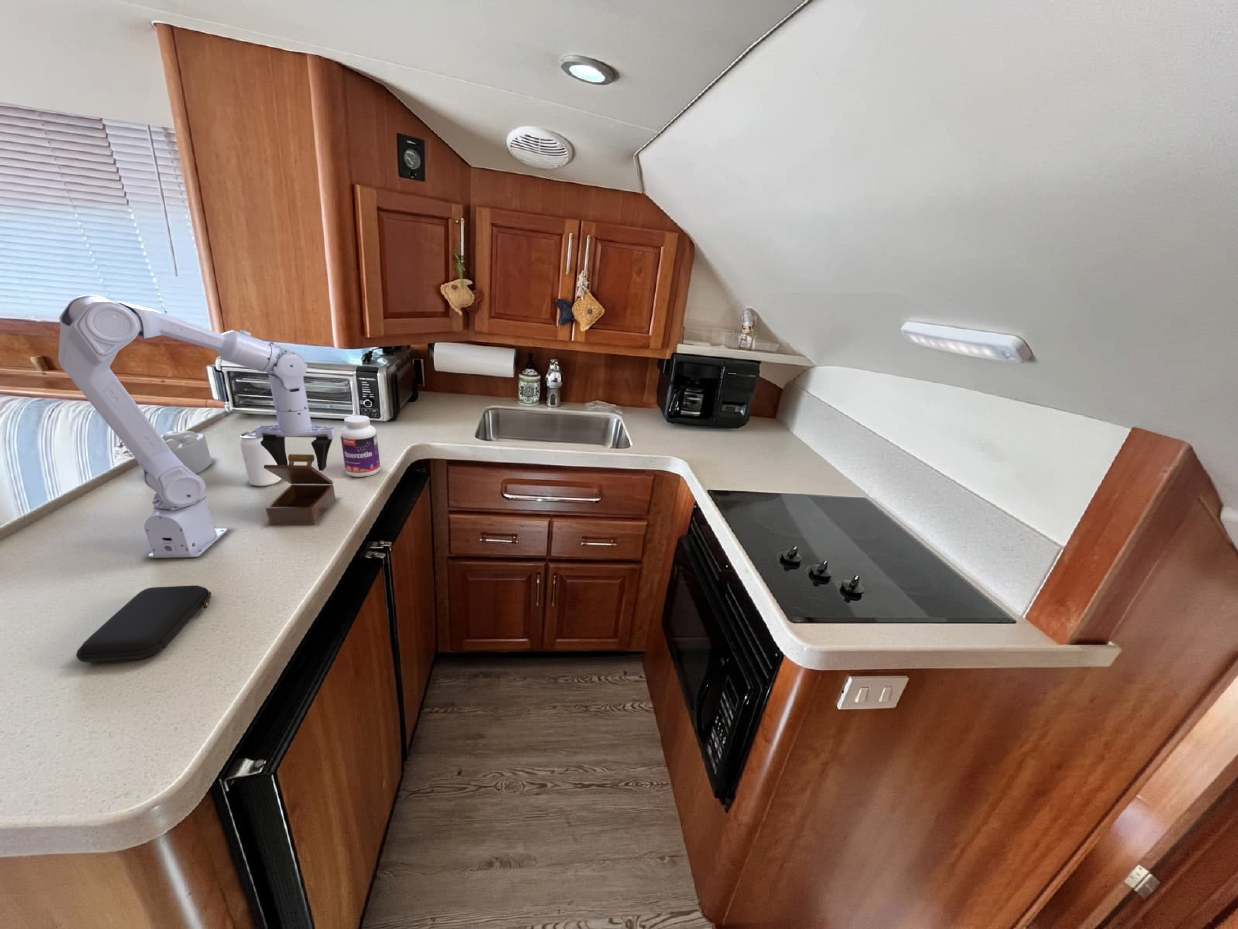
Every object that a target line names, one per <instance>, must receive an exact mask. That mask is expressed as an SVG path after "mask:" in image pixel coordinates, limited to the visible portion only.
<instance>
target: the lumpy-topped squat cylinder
mask: <svg viewBox="0 0 1238 929" xmlns="http://www.w3.org/2000/svg"><path fill="white" fill-rule="evenodd" d="M159 435H160V434H159ZM160 436H161V438H162V439H163V440H164V442H165V443H166V444H167V446H168V447H169V448H170V450H171V451H172V452H173V453H174V454H175V456H176V457H177V458H178V459H179V460H180V461H181V462H182V463H184V464H185V465H186V466H187V468H188V469H189V470H191V471H192V472H193V473H194V474H196V475H197V474H199V473H200V472H202V471H204V470H206V469H207V468H208V467H209V466H210V465H212V463H213V460H212V456H211V453H210V450H209V446H208V443H207V439H206V436H205V434H203V433H198V432H195V431H190V430H185V431H184V430H182V431H176V430H170V431H167V432H165V433H164V434H161V435H160Z"/></svg>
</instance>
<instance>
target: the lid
mask: <svg viewBox="0 0 1238 929" xmlns="http://www.w3.org/2000/svg"><path fill="white" fill-rule="evenodd" d="M287 461H288V465H264V468H265V469H266V470H268V471H270V472H271V473H273V474H275V475H276V476H278V477H280V478H281V480H284V481H285V482H287V483H288V484H307V485H334V481H333V480H332V479H330V478H329V477H327V476H326V475H324V474H323V473H322V472H321V471H319V469H316V468H315V467H314V466H312V465H313V463H314V462H315V455H314V454H309V453H307V454H304V453H301V454H300V453H289V454H288V456H287ZM295 463H306V465H305V464H302V465H301V464H300V465H299V464H298V465H297V464H295Z"/></svg>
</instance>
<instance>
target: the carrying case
mask: <svg viewBox="0 0 1238 929" xmlns="http://www.w3.org/2000/svg"><path fill="white" fill-rule="evenodd" d="M211 598H212V591H209V590H208V588H206V587H204V586H201V585H197V584H196V585H176V586H175V585H174V586H155V587H154V586H152V587H148V588H147V587H146V588H145V589H143V590H141V591H139V592H138V593H137V594H136V595H135V596H134V597H132V598H131V599H130V600H129V601H128V602H127V603H125V605H123V606H122V607H121V608H120V609H119V610H118V611H117V612H116V613H114V614H113V615H112V616H111V617H110V618H109V619H108V620H106V621H105V622H104V623H103V624H102V625H101V626H100V627H99V628H98V629H97V630H96V631H94V632H93V633H92V635H90V636H88V638H87V639H86V640H85V641H84V642H83V643H82V644H81V646H80V647H79V648H78V649H77V651H76V658H77V660H78V661H80V662H82V663H91V664H93V663H106V662H107V663H108V662H120V661H121V662H122V661H136V660H145V659H150V658H152V657H154V656H156V655H157V654H158V653H160V652H161V651H162V649H165V648H166V647H167V646H168V644H169V643H170V642H171V641H172V640H173V639H174V638H175V637H176V636H177V634H178V633H179V632H180V631H181V630H182V629H183V628H184V627H185V626H186V625H187V623H188V622H189V621H190V620H191V619H192V618H193V617H194V616H195V614H196V613H197V612H198V611H199V610H200V609H201V608H202V607H203V608H204V609H207V608H208V607H209V604H210V601H211Z"/></svg>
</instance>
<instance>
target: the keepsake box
mask: <svg viewBox="0 0 1238 929" xmlns="http://www.w3.org/2000/svg"><path fill="white" fill-rule="evenodd" d="M334 487H335V486H334V484H291V485H289V486H288V487H287V488H286V489H284V491H283V492H282V493H281V494H279V495H278V497H276V498H275V499H274V500H273V501H271V503H270V504H269V505H267V506H266V507H265V511H266V515H267V520H268V524H269V525H316V524H317V523H318V522H319V521H320V519H321V518H322V517H323V515H324V514H325V513H326V512H327V511H328V509H329V508H330V507H331V506H332V504H333V503H334V502H336V500H337V499H336V494H335V488H334Z"/></svg>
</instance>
